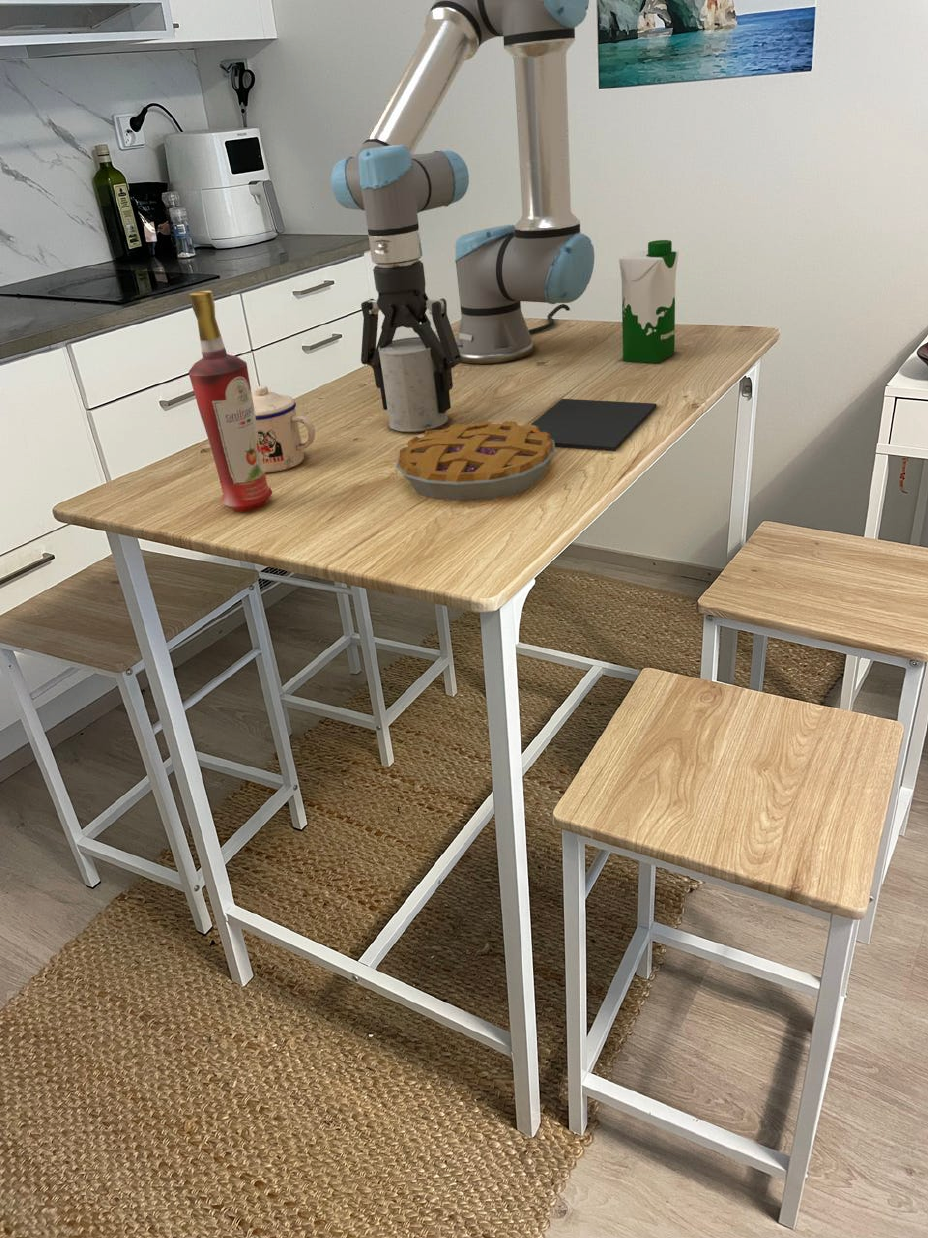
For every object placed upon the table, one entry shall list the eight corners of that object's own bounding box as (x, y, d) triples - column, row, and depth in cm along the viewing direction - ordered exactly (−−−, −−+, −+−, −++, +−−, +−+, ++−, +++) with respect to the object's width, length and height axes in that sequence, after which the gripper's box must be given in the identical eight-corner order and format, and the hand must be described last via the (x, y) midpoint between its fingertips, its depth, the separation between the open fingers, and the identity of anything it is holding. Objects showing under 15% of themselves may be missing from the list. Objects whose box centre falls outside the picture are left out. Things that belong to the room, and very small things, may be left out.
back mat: (561, 402, 155) (561, 398, 155) (656, 407, 148) (656, 403, 148) (512, 443, 140) (511, 439, 140) (615, 451, 133) (615, 447, 133)
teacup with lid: (234, 473, 140) (217, 396, 134) (264, 451, 148) (249, 377, 142) (306, 475, 136) (291, 396, 131) (333, 453, 144) (320, 377, 138)
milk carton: (660, 365, 168) (661, 246, 158) (615, 361, 173) (613, 246, 163) (681, 352, 174) (683, 237, 164) (637, 349, 179) (636, 237, 169)
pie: (379, 506, 123) (373, 470, 121) (422, 448, 142) (418, 416, 139) (544, 506, 118) (541, 469, 116) (567, 446, 136) (565, 412, 134)
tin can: (440, 430, 147) (431, 351, 141) (382, 432, 149) (370, 354, 143) (453, 410, 155) (445, 335, 149) (397, 412, 157) (387, 338, 151)
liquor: (252, 491, 133) (206, 285, 119) (286, 500, 129) (243, 287, 115) (211, 509, 128) (158, 297, 115) (244, 519, 124) (193, 301, 110)
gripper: (322, 268, 142) (346, 412, 153) (452, 266, 132) (468, 420, 143) (348, 258, 147) (370, 398, 158) (475, 255, 138) (489, 404, 149)
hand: (416, 408), depth 151 cm, fingers closed on tin can, 9 cm apart
